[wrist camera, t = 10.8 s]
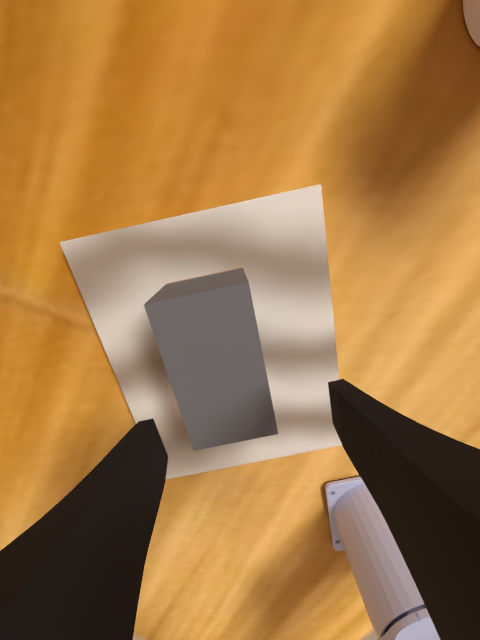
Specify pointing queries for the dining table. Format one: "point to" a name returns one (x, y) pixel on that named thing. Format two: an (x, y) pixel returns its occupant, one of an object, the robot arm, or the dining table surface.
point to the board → (269, 306)
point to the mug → (472, 18)
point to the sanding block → (214, 358)
